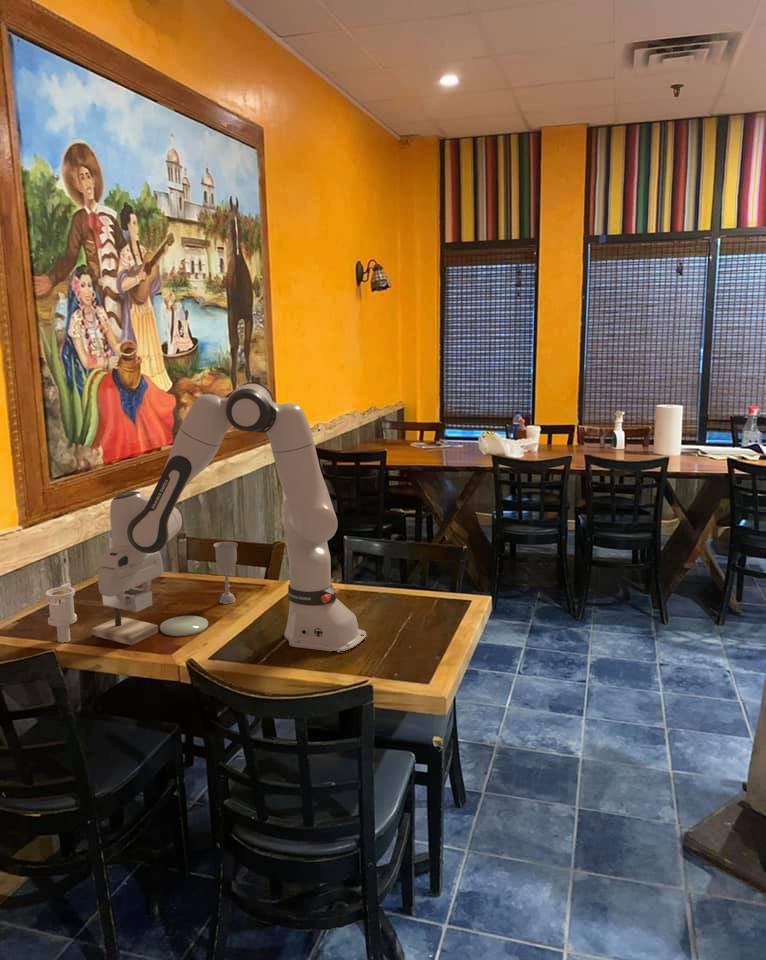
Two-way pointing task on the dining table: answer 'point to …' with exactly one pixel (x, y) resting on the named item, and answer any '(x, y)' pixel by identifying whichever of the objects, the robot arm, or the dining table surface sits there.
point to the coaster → (183, 626)
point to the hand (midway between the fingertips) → (134, 601)
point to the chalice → (226, 566)
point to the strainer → (62, 611)
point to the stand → (124, 629)
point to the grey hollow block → (131, 600)
